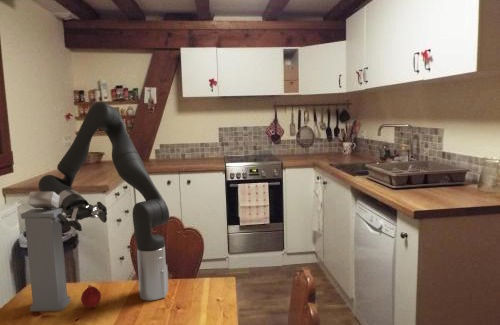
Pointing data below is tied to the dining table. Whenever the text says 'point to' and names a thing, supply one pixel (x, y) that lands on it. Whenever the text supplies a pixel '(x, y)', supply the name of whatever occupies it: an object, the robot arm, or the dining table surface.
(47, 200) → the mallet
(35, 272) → the stand
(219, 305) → the dining table surface
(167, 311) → the dining table surface
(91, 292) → the onion
